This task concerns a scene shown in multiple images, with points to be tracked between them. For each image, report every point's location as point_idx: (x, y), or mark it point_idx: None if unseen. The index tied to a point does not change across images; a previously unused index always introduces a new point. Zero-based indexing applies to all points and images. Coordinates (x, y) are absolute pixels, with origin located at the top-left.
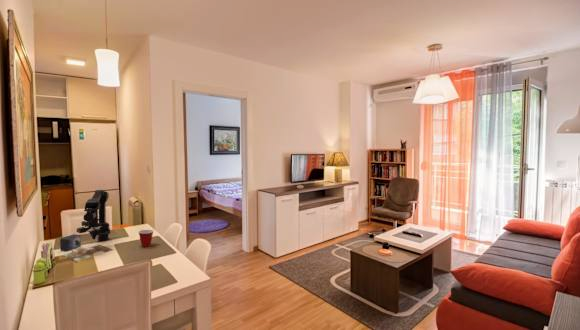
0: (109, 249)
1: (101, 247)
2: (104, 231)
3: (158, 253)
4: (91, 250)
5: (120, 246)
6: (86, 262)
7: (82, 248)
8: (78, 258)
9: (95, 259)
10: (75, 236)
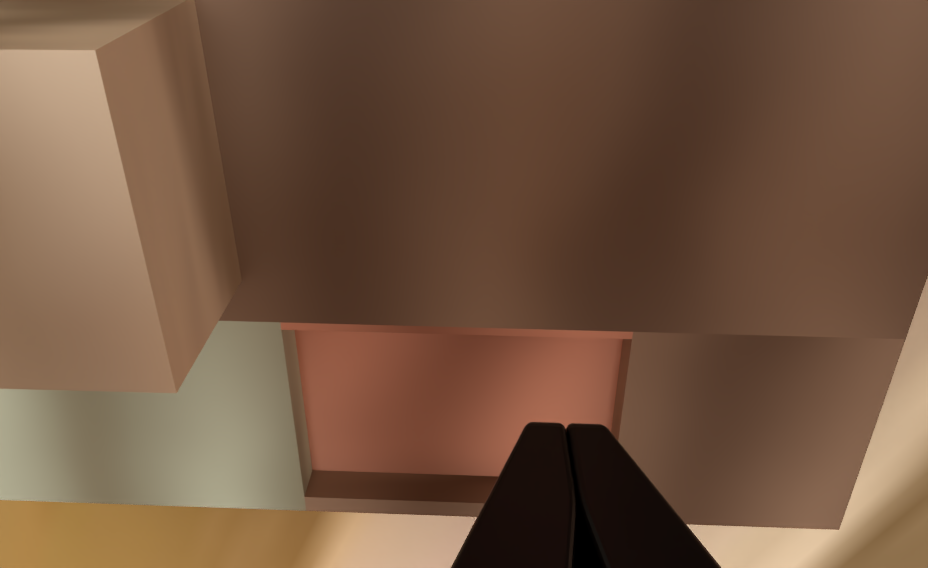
0: (809, 428)
1: (873, 36)
2: None
3: None
4: (495, 56)
5: None
6: (155, 555)
7: (86, 256)
8: (17, 394)
9: (330, 554)
10: None
